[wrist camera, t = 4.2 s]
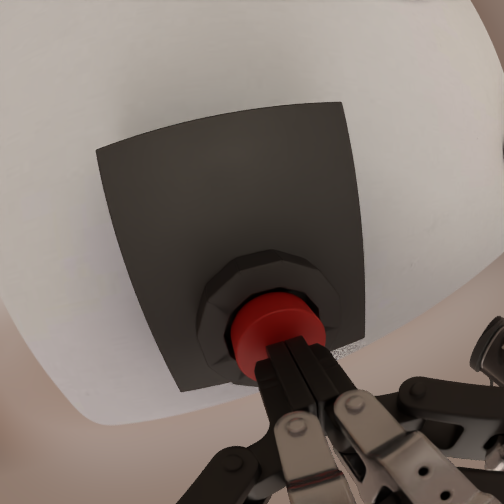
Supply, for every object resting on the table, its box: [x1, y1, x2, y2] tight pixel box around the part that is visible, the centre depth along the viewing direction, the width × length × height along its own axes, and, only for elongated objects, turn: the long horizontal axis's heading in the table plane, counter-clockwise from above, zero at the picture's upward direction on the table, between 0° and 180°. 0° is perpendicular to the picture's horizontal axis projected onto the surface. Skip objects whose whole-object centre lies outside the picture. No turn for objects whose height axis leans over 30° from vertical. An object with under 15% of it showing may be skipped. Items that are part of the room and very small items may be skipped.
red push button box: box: [96, 102, 365, 392], centre depth 14 cm, size 14×12×6 cm
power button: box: [231, 292, 326, 381], centre depth 12 cm, size 4×4×2 cm
